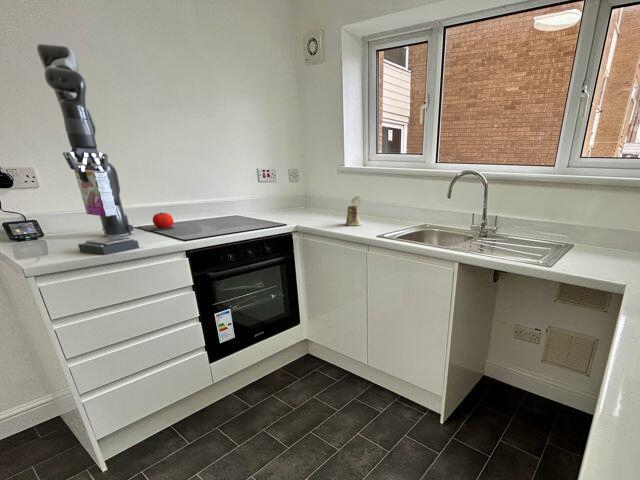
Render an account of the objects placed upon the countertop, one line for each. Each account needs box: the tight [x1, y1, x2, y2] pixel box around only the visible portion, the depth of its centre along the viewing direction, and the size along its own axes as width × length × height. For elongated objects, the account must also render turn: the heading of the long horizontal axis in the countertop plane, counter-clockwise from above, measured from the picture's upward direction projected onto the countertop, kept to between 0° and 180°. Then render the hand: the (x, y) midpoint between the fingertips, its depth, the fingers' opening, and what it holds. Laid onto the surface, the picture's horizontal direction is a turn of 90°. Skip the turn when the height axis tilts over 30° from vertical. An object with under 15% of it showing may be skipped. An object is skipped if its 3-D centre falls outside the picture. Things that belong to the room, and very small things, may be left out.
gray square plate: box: [85, 236, 135, 245], centre depth 142 cm, size 11×11×1 cm
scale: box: [77, 239, 140, 256], centre depth 142 cm, size 14×13×3 cm
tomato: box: [152, 212, 175, 229], centre depth 186 cm, size 9×10×8 cm
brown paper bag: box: [345, 196, 362, 227], centre depth 213 cm, size 9×14×18 cm, turn 27°
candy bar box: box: [74, 170, 118, 217], centre depth 135 cm, size 11×5×16 cm, turn 71°
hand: (93, 181), depth 133 cm, fingers closed on candy bar box, 5 cm apart
